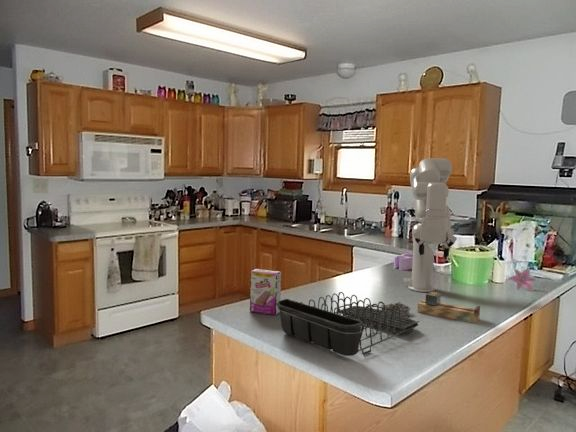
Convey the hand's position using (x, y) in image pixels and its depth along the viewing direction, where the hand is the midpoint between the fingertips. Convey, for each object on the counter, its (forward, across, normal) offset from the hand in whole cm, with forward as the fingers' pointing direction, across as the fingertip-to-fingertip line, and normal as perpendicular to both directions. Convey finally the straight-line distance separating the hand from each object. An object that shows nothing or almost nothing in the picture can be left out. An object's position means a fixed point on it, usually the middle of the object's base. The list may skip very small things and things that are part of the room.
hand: (433, 256), depth 181 cm
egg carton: (+23, -9, -15) cm, 28 cm away
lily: (+22, +23, +63) cm, 71 cm away
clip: (+21, -39, +72) cm, 84 cm away
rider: (+19, +2, -4) cm, 20 cm away
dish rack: (+23, -12, -45) cm, 52 cm away
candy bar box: (+22, -49, -47) cm, 71 cm away
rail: (+22, +8, -3) cm, 24 cm away
